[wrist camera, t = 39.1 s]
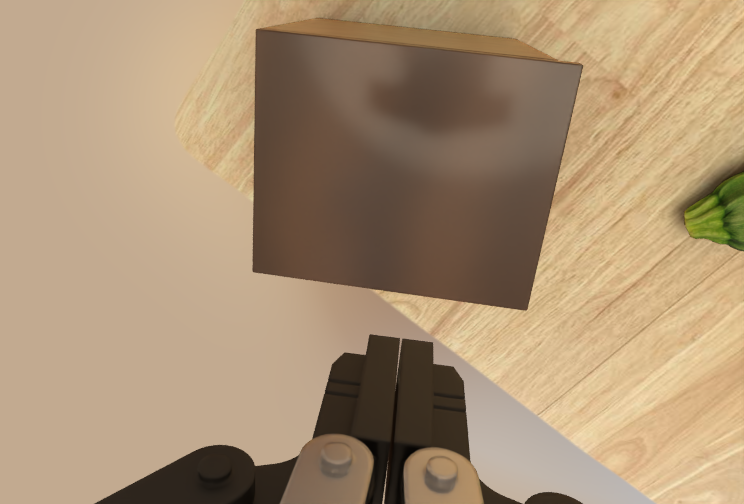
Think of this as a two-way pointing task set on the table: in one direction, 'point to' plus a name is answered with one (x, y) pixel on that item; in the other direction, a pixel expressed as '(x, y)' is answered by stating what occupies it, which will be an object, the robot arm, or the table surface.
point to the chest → (414, 37)
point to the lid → (406, 165)
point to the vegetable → (719, 214)
